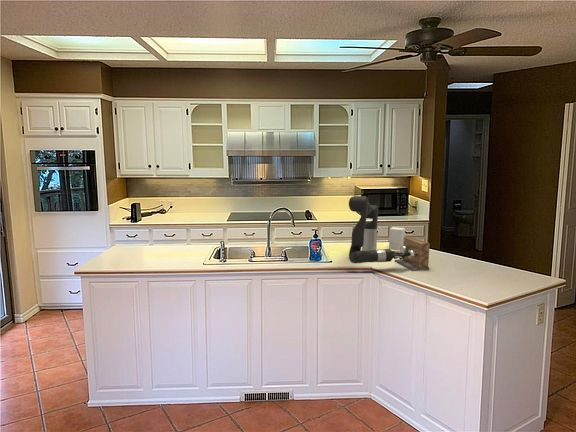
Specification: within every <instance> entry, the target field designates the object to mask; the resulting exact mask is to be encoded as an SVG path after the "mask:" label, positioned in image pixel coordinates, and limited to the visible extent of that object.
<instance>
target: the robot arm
mask: <svg viewBox="0 0 576 432" xmlns="http://www.w3.org/2000/svg"><path fill="white" fill-rule="evenodd" d="M348 208H349V210H350V211H351V212H355V213H357V214H359V215H360V218H359V220H358V221H357V223H356V224H355V226H354V227H353V229H352V232H351V245H350V248H349V253H348V259H349V261H350V263H352V264H362V263H388V262H389V263H390V262H392V261H393V259H394V260H399V259H400V260H401V259H403V258H405V256H410V253H409V252H401V251H400V250H393V249H389V248H382V249H381V248H379V249H378V248H377V240H378V219H379V206H378V205H375V204H371V203H370V202H369V198H368V197H367V196H366V195H353V196H351V197H350V198H349V200H348ZM367 219H371V221H369V222H367Z"/></svg>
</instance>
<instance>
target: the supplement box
mask: <svg viewBox="0 0 576 432" xmlns="http://www.w3.org/2000/svg"><path fill="white" fill-rule="evenodd" d="M388 236H389V237H388V239H389V240H388V241H389V242H388V249H390V250H393V251H400V247H401V246H403V242H404V237H406V228H405V227H398V226H392V227H390V228H389V235H388Z"/></svg>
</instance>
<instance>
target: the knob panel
mask: <svg viewBox="0 0 576 432" xmlns="http://www.w3.org/2000/svg"><path fill="white" fill-rule="evenodd" d="M430 245H431V244H430V242H428V241H425V240H423V239H419V238H417V237H414V236H405V237H404V242H403V246H407V248H408V251H409V250H415V252H416V253H417V255H416V256H415V257H414V258H409V257H408V256H405V258H403V259H401V260H400V259H399V258H398V259H394V262H395V263H396V262H397V264H399V265H401V266H402V267H403V268H406V269H408V270H409V271H412V272H416V271H417V272H418V270H419V271H429V270H430V267H429V262H430V248H431V247H430Z"/></svg>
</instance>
